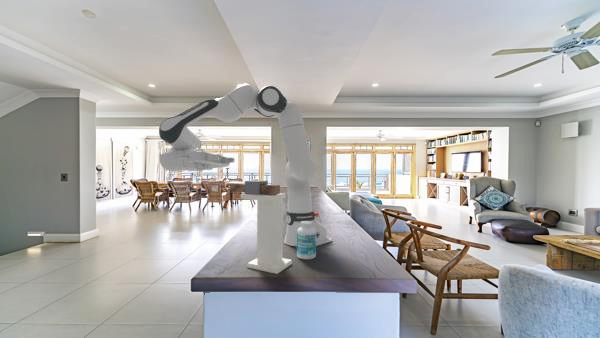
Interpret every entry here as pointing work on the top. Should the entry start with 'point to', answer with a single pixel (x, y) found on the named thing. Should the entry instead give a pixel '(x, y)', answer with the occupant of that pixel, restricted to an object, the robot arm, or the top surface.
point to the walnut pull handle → (263, 188)
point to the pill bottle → (306, 241)
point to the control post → (267, 229)
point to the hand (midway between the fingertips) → (227, 158)
